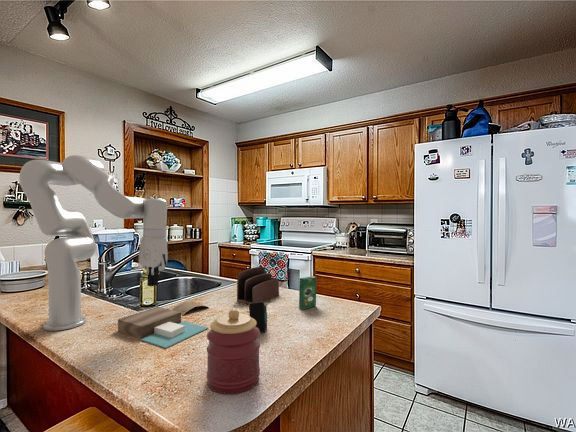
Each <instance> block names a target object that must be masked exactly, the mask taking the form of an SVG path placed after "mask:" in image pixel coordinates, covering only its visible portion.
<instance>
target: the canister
mask: <svg viewBox="0 0 576 432" xmlns="http://www.w3.org/2000/svg"><path fill="white" fill-rule="evenodd" d="M256 324H257V322H256V320H255V319H253V318H251V317H250V316H249V315H248V314H247V313H241V312H239V310H238V309H235V308H232V309H230V310H229V312H228V313H226V314H222V315H220V316H218V317H217V318H216V319H214V320H213V321H211V322H210V330H208V332H207V333H206V339H207V340H208V345H207V347H206V352H207V369H206V370H207V371H206V381H207V384H208V387H209V388H210V389H211V390H213V391H214V392H216V393H219V394H225V395H226V394H227V395H234V394H239V393H243V392H246V391H248V390H250V389H252V388H253V387H255V386H256V384H257V383H259V378H260V375H261V374H260V371H261V369H260V368H261V367H260V348H261V343H260V342H259V336H260V334H261V333H260V330H259V329H258V328H257V327H256Z"/></svg>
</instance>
